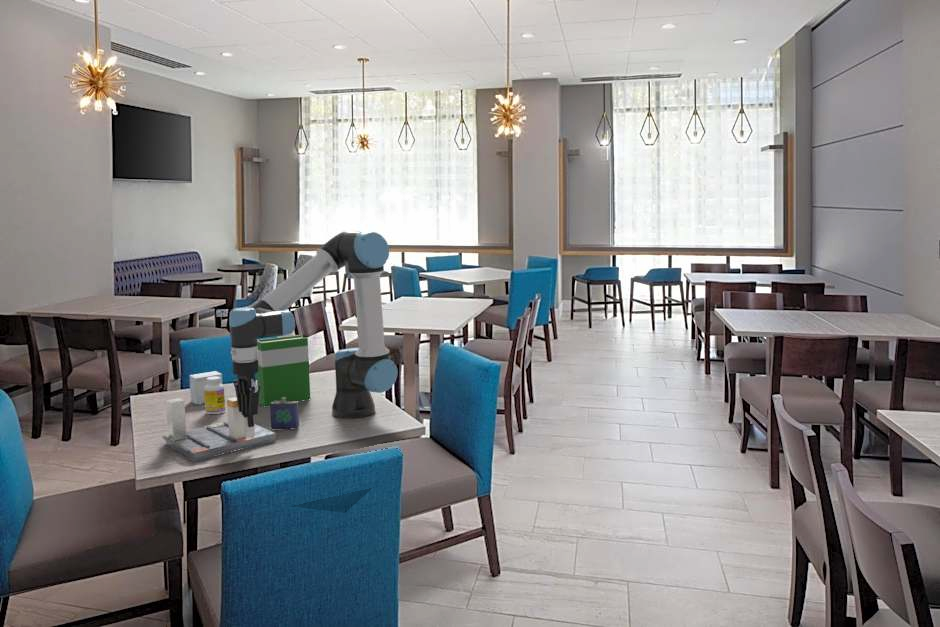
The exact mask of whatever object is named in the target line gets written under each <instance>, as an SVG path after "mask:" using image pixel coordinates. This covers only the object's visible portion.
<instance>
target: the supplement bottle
mask: <svg viewBox="0 0 940 627" xmlns="http://www.w3.org/2000/svg"><path fill="white" fill-rule="evenodd" d="M220 381H221V378H220V377H217V376H214V377H208V378H207V383H208V384H207V385H206V386H205V388H204V392H205V403H204V404H205V414H207V415H209V414H218V415H221V414H220V413H222V414H224V413H225V412H226V403H225V387H224V385H222V384H220ZM223 412H224V413H223Z"/></svg>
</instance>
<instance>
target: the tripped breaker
mask: <svg viewBox="0 0 940 627" xmlns="http://www.w3.org/2000/svg"><path fill="white" fill-rule="evenodd" d="M226 406H227V422H228V424H229V436H230V437H232V438H234V439H239V438H243V437H244V422H243V415H242V412H239V408H238V403H237V397H236V396H235V397H230V398H227V399H226Z"/></svg>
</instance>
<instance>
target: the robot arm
mask: <svg viewBox="0 0 940 627" xmlns="http://www.w3.org/2000/svg"><path fill="white" fill-rule="evenodd" d="M315 253H316V254H315V255H314V256H312V257H311V259H309V260H308V261H307V262H306V263H304V264H303V265H302V266H300V267H299V268H298V269H297V270H296V271H295V272H293V273H292V274H291V275H290V276H288V277H287V278H286V279H285V280H283V281H282V282H281V283H280V284H279V285H278V286H277V287H275V288H274V289H272V291H271V292H269V293H267V295H265V296H264V297H263V298H261V299H260V300H259V301H258V302H257V303H255V304H254V305H250V306H246V307H236V308H232V309H231V310H230V312H229V317H228V318H229V319H228V321H229V322H228V324H229V332H230V333H229V334H230V347H231V349H230V354H231V359H232V363H231V368H232V374H233V375H235V376H236V379H233V381H232V383H233V386H234V389H235V397H237V403H238V408H239V412H242V415H243V422H244V437H245V438H249V437H253V436H255V427H254V424H255V416H256V415H258V414H259V392H260V388H261V387H260V385H258V386H257V383H256V382H257V378H256V376H255V375H257V372H258V371H259V363H258V360H257V358H258V344H257V340H260V339H267V338H275V337H285V336H287V335H291V334H293V332H294V331H295V328H296V319H295V317H294V316H295V315H294V313H292V312H291V310H288V309H289V308H290V307H291V306H292V305H294V304H295V303H296V302H297V301H298V300H300V299H301V298H302V297H303V296H304V295H306V294H307V293H308V292H309V291H310V290H311V289H313V288H314V287H315V286H316V285H317V284H318V283H320V282H321V281H322V280H323V279H324V278H326V277H327V276H328V275H330V274H331V273H336V272H338V271H339V270H340V269H342V268H343V267H345V266H347V268H348V274H349V275H350V276H351V278H353V284H354V298H355V311H356V322H357V323H356V325H357V334H358V335H357V337H358V338H357V340H358V347H351V348H350V347H349V348H343V349H339V350H337V351H335V354H334V368H335V369H334V371H335V386H336V387H335V389H336V390H335V396H334V399H333V402H332V406H331V414H332V415H333V416H334V417H337V418H343V419H344V418H345V419H349V418H350V419H354V418H355V419H356V418H363V417H367V416H370V415H372V414H374V413H375V411H376V405H375V402H374V399H373V397H372V396H373V395H372V394H371V393H377V394H378V393H381V394H382V393H385V392H387V391H388V390H390V389H391V388H392V387H393V386H394V384H395V383H396V381H397V377H398V367H397V365H396V363H395V362H394V361H393V360H391V354H390V349H389V348H387V346H386V345H385V332H384V318H383V304H382V302H383V301H382V293H381V292H382V291H381V275H382V274H383V273H384V272H385V269H384V265H385V264H386V263H387V260H389V256H390V247H389V244H388V242H387V239H386V238H385V237H384V236H383V235H382V234H380V233H378V232H375V231H371V230H344V231H341V232H340V233H338V234H336V235H335V236H332V238H330V239H329V240H328V241H327V242H325V243H324V244H323V245H322V246H320V247H319V248H318V249H317V250H316V252H315Z"/></svg>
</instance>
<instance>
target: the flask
mask: <svg viewBox="0 0 940 627" xmlns="http://www.w3.org/2000/svg"><path fill="white" fill-rule="evenodd" d="M281 399H282V400H281V401H278V402H277V401H275V402H271V403H270V407H269V414H270V415H269V416H270V417H269V419H270V429H271V430H272V429H284V430H286V429H287V430H292V429H291V428H298V427H300V422H299V421H300V416H299V402H297V401H292V402H286V400H285V399H286V397H282V398H281ZM298 429H299V428H298Z"/></svg>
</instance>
